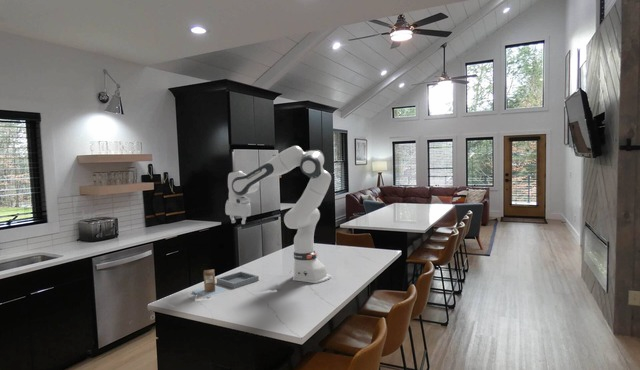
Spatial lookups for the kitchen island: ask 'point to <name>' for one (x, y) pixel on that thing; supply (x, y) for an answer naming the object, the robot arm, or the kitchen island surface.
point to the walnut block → (209, 280)
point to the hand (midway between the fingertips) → (238, 223)
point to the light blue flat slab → (202, 292)
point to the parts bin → (237, 279)
